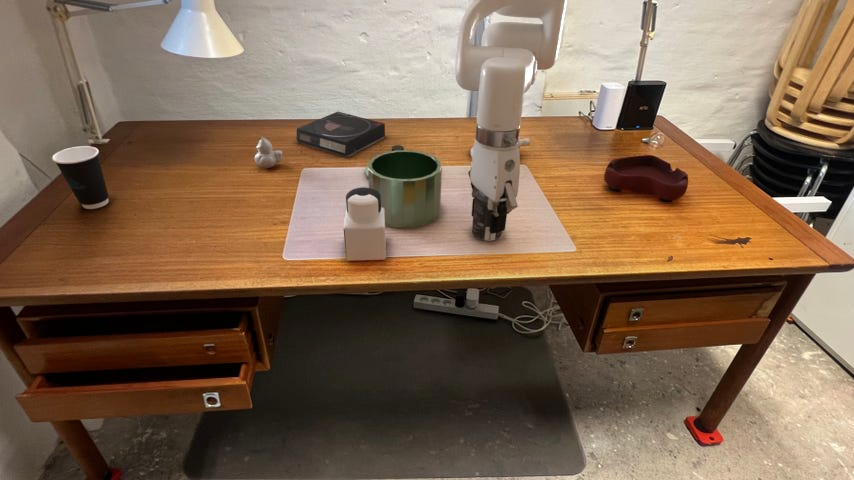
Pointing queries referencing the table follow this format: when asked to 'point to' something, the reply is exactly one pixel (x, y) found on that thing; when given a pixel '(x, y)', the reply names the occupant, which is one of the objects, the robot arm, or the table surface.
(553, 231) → the table surface
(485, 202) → the pill bottle
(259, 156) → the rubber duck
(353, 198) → the medicine bottle
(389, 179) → the tin
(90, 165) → the dixie cup
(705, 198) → the table surface
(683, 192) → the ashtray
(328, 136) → the portable cd player
